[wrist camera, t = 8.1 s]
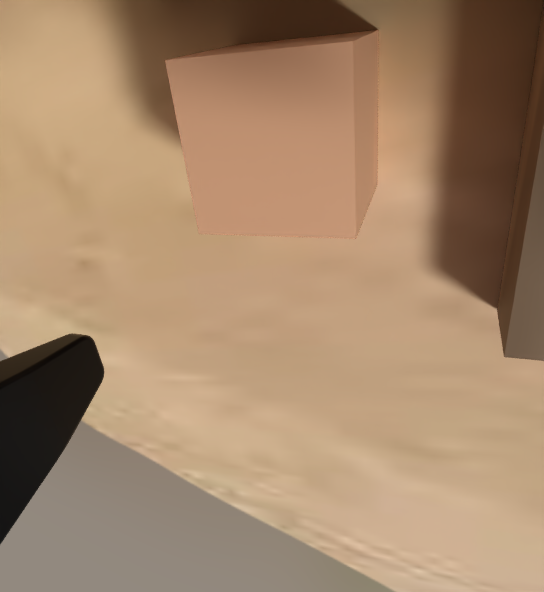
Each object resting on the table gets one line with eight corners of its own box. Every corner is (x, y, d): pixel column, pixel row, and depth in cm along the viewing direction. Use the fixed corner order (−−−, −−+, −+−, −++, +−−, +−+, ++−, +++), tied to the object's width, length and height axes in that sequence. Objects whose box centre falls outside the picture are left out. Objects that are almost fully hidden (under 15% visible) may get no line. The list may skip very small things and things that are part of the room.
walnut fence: (649, -149, 11) (703, -189, 9) (549, 313, 18) (564, 362, 16) (146, -50, 16) (91, -59, 13) (214, 291, 22) (186, 327, 20)
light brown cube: (378, 29, 15) (353, 41, 11) (377, 183, 18) (355, 238, 14) (234, 45, 17) (164, 59, 13) (251, 184, 19) (198, 233, 15)
